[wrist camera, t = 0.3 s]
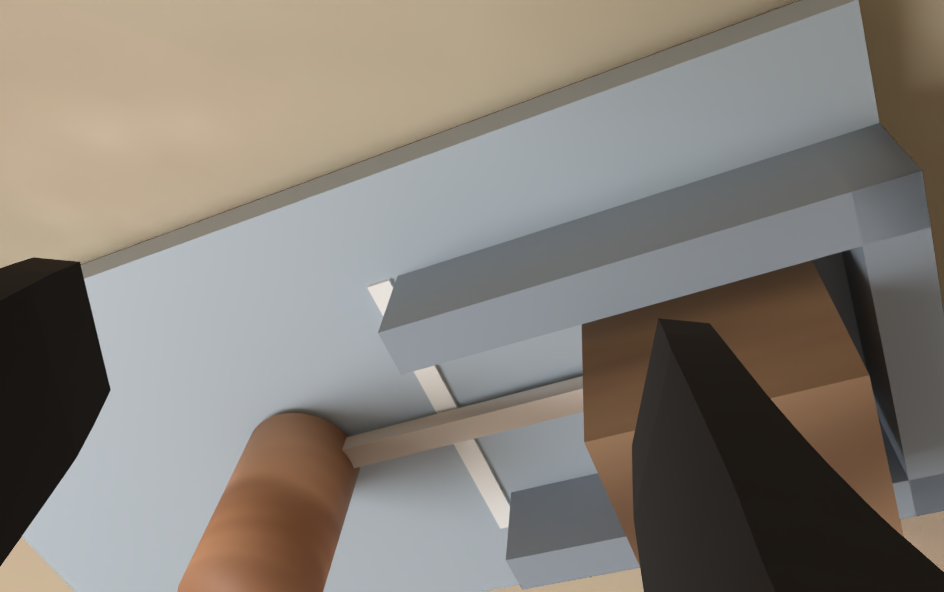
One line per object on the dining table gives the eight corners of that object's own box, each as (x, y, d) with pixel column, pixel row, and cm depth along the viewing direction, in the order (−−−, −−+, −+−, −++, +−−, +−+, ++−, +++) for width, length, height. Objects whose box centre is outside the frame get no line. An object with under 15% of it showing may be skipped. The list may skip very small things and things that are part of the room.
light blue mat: (928, 472, 23) (983, 578, 20) (151, 627, 31) (106, 720, 28) (840, -14, 16) (901, 32, 13) (-118, 337, 24) (-215, 418, 21)
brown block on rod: (839, 403, 20) (910, 567, 16) (298, 527, 25) (243, 681, 20) (798, 234, 18) (869, 375, 14) (210, 404, 22) (127, 550, 18)
